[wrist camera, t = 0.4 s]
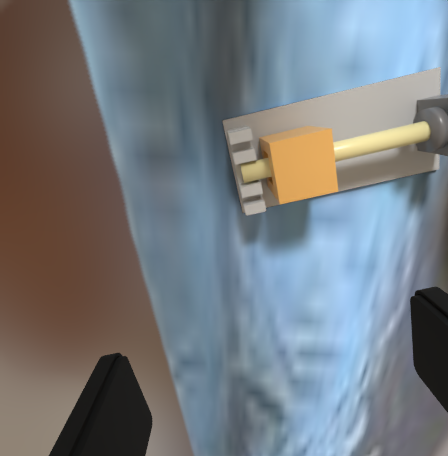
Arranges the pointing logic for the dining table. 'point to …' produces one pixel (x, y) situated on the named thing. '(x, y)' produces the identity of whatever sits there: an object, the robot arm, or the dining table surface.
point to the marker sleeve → (300, 163)
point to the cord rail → (350, 134)
